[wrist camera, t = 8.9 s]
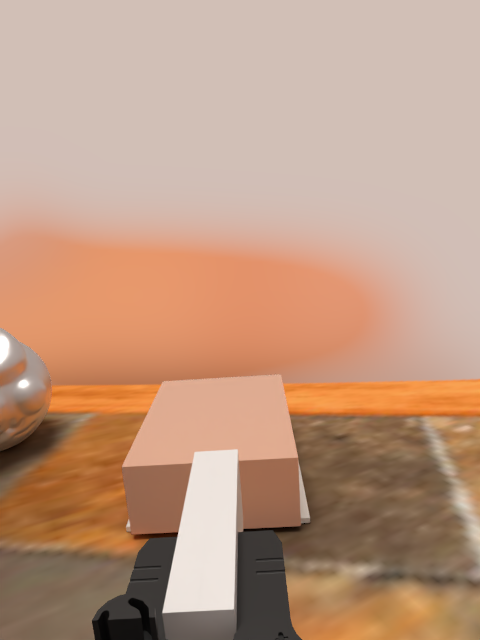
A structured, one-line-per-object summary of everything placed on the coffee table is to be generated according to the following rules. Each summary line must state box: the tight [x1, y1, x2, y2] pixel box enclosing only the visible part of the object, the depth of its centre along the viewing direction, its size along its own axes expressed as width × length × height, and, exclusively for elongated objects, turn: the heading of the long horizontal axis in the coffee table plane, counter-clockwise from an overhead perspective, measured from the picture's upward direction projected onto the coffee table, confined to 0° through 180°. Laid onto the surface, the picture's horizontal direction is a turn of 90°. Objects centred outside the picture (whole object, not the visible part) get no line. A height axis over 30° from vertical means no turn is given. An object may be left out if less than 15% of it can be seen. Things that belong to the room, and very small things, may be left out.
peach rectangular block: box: [122, 374, 301, 534], centre depth 30 cm, size 4×9×12 cm
